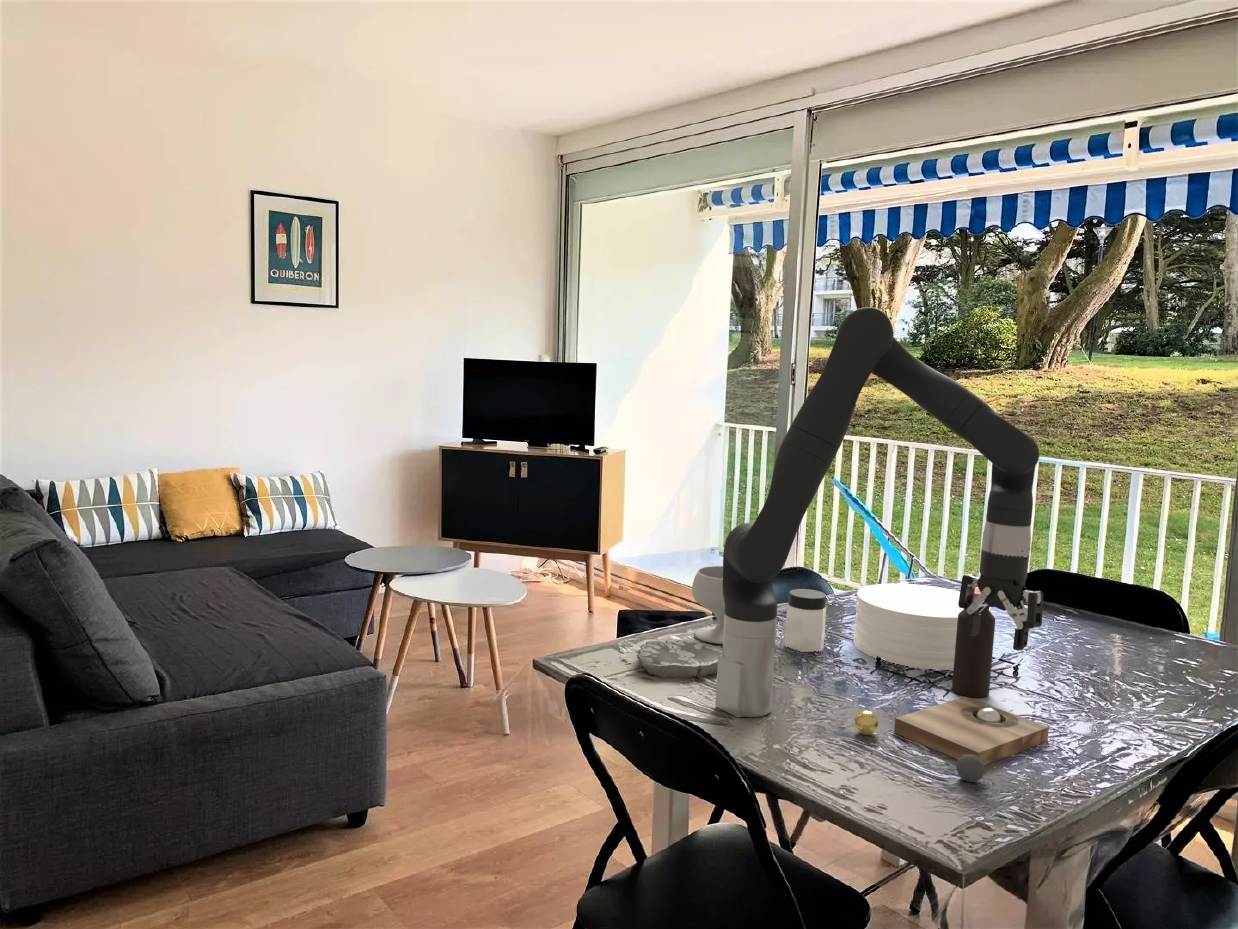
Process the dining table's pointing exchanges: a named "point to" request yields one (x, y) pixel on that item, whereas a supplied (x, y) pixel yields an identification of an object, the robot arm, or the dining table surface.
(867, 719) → the brass ball
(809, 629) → the jar
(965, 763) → the rubber ball
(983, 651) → the bottle
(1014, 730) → the board
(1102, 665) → the dining table surface
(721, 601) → the chalice
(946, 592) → the plate stack
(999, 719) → the steel ball
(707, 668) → the brain slice
